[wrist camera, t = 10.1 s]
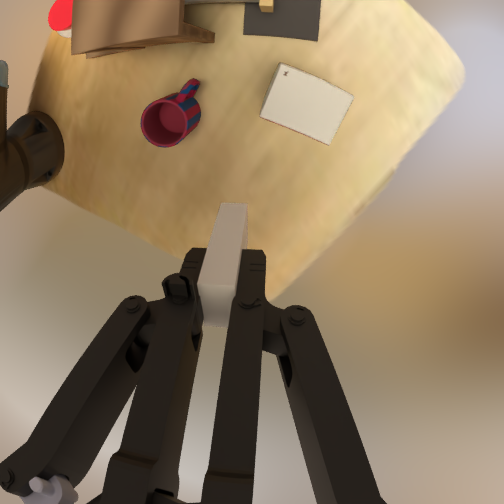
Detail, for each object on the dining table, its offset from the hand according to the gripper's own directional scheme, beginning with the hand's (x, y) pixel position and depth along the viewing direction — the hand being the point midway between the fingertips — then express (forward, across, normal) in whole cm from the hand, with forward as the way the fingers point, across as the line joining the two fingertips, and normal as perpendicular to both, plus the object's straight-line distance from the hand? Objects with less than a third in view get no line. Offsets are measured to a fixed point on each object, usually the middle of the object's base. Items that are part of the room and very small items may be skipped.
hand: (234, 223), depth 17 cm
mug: (+29, -10, +2) cm, 30 cm away
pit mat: (+28, +3, +19) cm, 34 cm away
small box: (+28, +6, +5) cm, 29 cm away
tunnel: (+28, -16, +20) cm, 38 cm away
